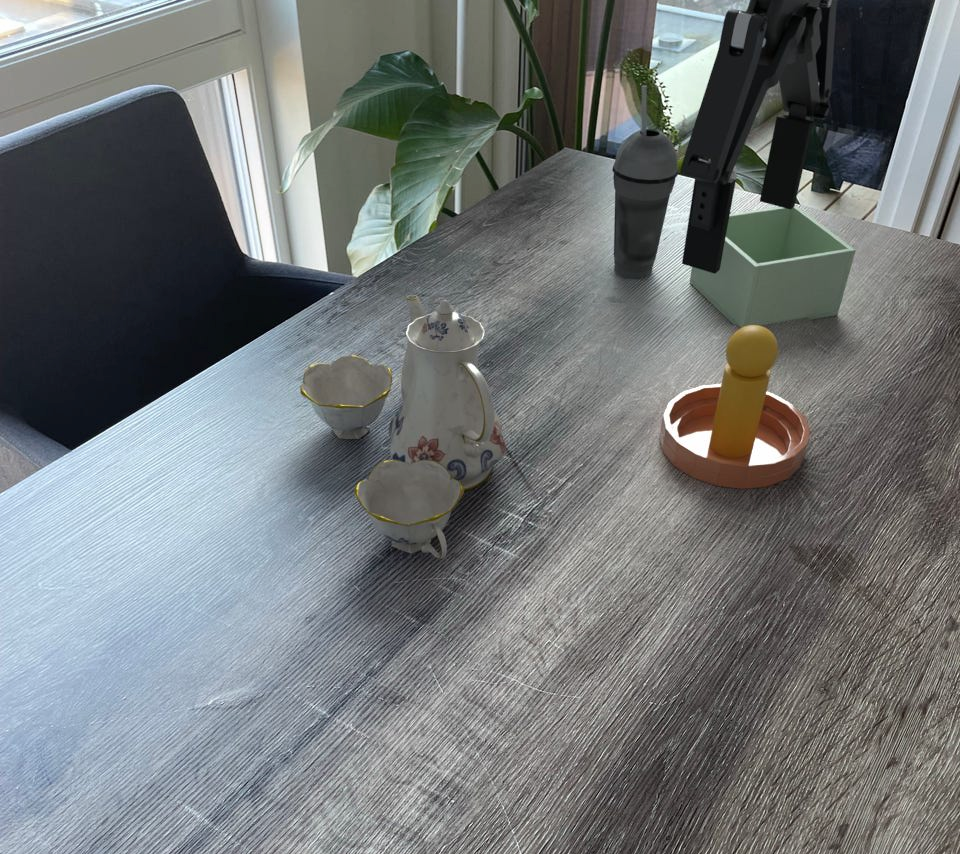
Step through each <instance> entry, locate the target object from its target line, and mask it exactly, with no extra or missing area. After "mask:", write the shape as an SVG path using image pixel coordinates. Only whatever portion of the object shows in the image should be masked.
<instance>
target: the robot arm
mask: <svg viewBox="0 0 960 854" xmlns="http://www.w3.org/2000/svg"><path fill="white" fill-rule="evenodd" d="M838 1H839V0H749V2H748V6H747V8H746V10H740V9H734V8H729V9H728V10H727V11H726V13H725V16H724V19H723V22H722V23H723V24H722V29H721V34H720V39H719V44H718V50H717V53H716V56H715V59H714V62H713V66H712V69H711V71H710V74H709V78H708V80H707V83H706V87H705V90H704V93H703V97H702V100H701V103H700V106H699V109H698V112H697V116H696V119H695V121H694V124H693V128H692V131H691V135H690V137H689V141H688V144H687V147H686V150H685V153H684V156H683V159H682V162H681V166H680V174H681V176H684V177H687V178H692V179H694V182H693V189H692V196H691V201H690V209H689V215H688V222H687V229H686V234H685V240H684V241H685V242H684V247H683V254H682V260H681V264H682V265H685V266H688V267H691V268H692V267H694V268H698V269H701V270H704V271H707V272H711V273H714V274H715V273H717V272H718V271H719V270H720V265H721V260H722V254H723V249H724V243H725V238H726V232H727V227H728V221H729V216H730V212H731V211H732V210H731V209H732V203H733V198H734V194H735V189H736V182H737V179H731V178H730V177H731V174H732V172H733V169H734V167H736V165H737V162H738V160H739V157H740V155H741V153H742V151H743V148H744V145H745V143H746V141H747V139H748V136H749V134H750V132H751V130H752V127H753V125H754V122H755V120H756V117H757V115H758V113H759V111H760V109H761V105H762V104H763V101H764V99H765V97H766V94H767V92H768V90H769V89H770V88H773V87H775V86H777V85H778V83H779V89H780V95H781V101H782V102H781V103H782V107H783V111H784V112H786V113H787V114H784V113H779V114H778V115H776V118H775V122H774V128H773V132H772V137H771V143H770V148H769V152H768V158H767V162H766V163H767V164H766V168H765V171H764V178H763V183H762V188H761V191H760V192H761V193H760V197H759V202H761V203H765V204H769V205H772V206H775V207H783V208H787V209H790V210H791V209H792V208H793V207H794V206H795V205H796V202H797V198H798V192H799V189H800V183H801V180H802V175H803V171H804V167H805V162H806V157H807V152H808V148H809V145H810V139H811V135H812V129H813V127H814V120H811V118H813V119H817V120H821V121H824V120H826V118H827V117H828V115H829V111H830V106H831V104H829V103H827V102H828V100H829V98H830V96H831V93H832V83H833V67H834V66H833V65H834V51H835V35H836V34H835V33H836V22H837V21H836V19H837V5H838Z"/></svg>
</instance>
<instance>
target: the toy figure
mask: <svg viewBox="0 0 960 854" xmlns="http://www.w3.org/2000/svg"><path fill="white" fill-rule="evenodd" d="M778 356H779V344H778V340H777V338H776V336H775V335H774V333H773V332H772V331H771V330H770V329H768V328H766V327H765V326H764V325H761V326H759V325H749V326H745V327H743V328H741V327H740V328H739V329H738V330H736V331H735V332H734V333H733V334H732V335H731V336H730V337H729V340H728V342H727V344H726V348H725V359H726V362H727V363H726V364H725V366H724V370H723V374H722V380H721V383H720V384H721V389H720V394H719V399H718V403H717V408H716V413H715V418H714V423H713V428H712V433H711V438H710V446H711V448H712V449H713V450H714V451H715V452H716V453H718V454H720V455H722V456H726V457H731V458H739V457H744V456H746V455H748V454H750V453H751V451H752V449H753V446H754V441H755V437H756V433H757V429H758V425H759V421H760V416H761V412H762V408H763V404H764V400H765V396H766V391H767V390H768V387H769V382H770V379H771V374H772V371H771V369H772V368H773V366H774V365H775V363H776V362H777V358H778ZM767 392H768V391H767Z"/></svg>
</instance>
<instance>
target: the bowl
mask: <svg viewBox="0 0 960 854" xmlns="http://www.w3.org/2000/svg"><path fill="white" fill-rule="evenodd" d="M721 384H722V383H714V384H702V385H699V386H695V387H693V388H689V389H686V390H683V391H681V392H679V394H677V395H676V396H674V397H673V398H672V399H670V400H669V401H668V403H667V405H666V406H665V409H664V412H663V414H662V418H661V425H660V431H659V442H660V447H661V452H662V453H663V454H664V456H665V457H666V458H667V460H669V462H670V463H671V464H672V465H673V466H674V467H675V468H677V469H678V470H680V471H682V472H683V473H685V474H686V475H688V476H689V477H690V478H692V479H694V480H695V479H696V480H698V481H701V482H704V483H707V484H710V485H713V486H715V487H722V488H731V489H738V490H739V489H740V490H746V489H756V488H768V487H770V486H773V485H776V484H778V483H781V482H783V481H787V480H788V479H789V478H790V477H791V476H793V475H794V474H795V473H796V472H797V471H798V470H799V469H800V468H801V467H802V463H803V460H804V456H805V454H806V453H805V452H806V449H807V446H808V442H809V438H810V436H811V435H810V434H811V429H810V426H809V424H808V422H807V419H806V416H805V415H804V414H803V413H802V412H801V411H800V410H799V409H798V408H797V407H796V406H795V405H793V403H792V402H789V401H788V400H786V399H784V398H782V397H781V396H779V395H777V394H775V393H773V392H770V391H766V396H765V400H764V404H763V408H762V412H761V416H760V421H759V425H758V429H757V433H756V437H755V441H754V446H753V449H752V451H751V453H750V454H748V455H746V456H744V457H739V458H731V457H726V456H722V455H720V454H718V453H716V452H715V451H714V450H713V449H712V448H711V446H710V438H711V433H712V428H713V423H714V418H715V413H716V408H717V403H718V399H719V394H720V389H721Z"/></svg>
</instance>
